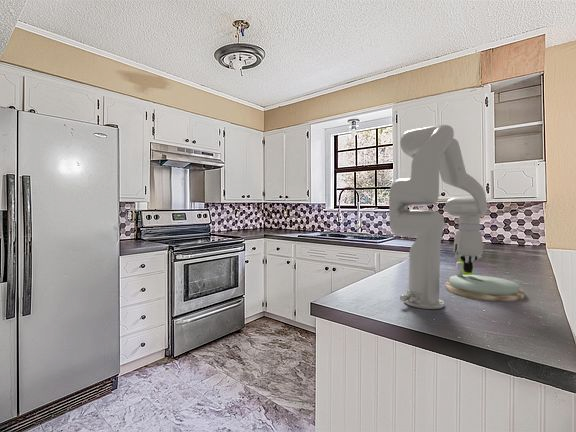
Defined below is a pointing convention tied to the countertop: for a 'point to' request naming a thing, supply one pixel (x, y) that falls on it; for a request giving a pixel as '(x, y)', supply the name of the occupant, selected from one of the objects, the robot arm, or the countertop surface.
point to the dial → (482, 283)
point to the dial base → (485, 296)
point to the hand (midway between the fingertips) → (467, 271)
